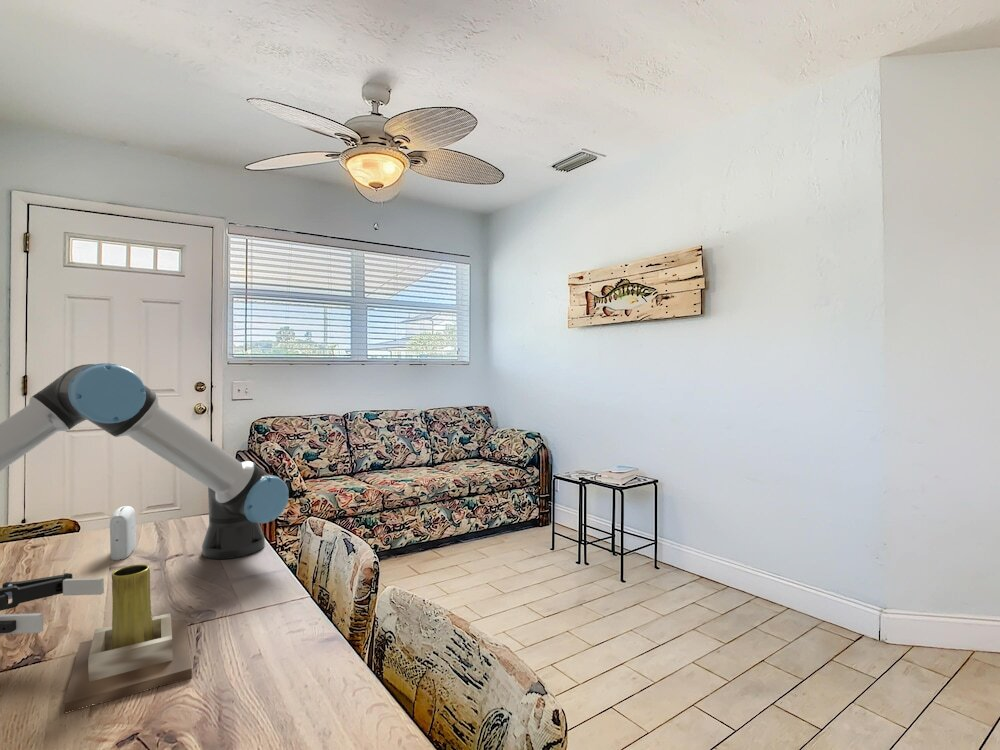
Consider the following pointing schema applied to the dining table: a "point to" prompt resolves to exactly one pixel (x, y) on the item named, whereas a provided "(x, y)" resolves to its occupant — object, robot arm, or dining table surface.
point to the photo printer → (122, 533)
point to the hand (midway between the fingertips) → (74, 603)
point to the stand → (128, 664)
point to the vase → (131, 606)
